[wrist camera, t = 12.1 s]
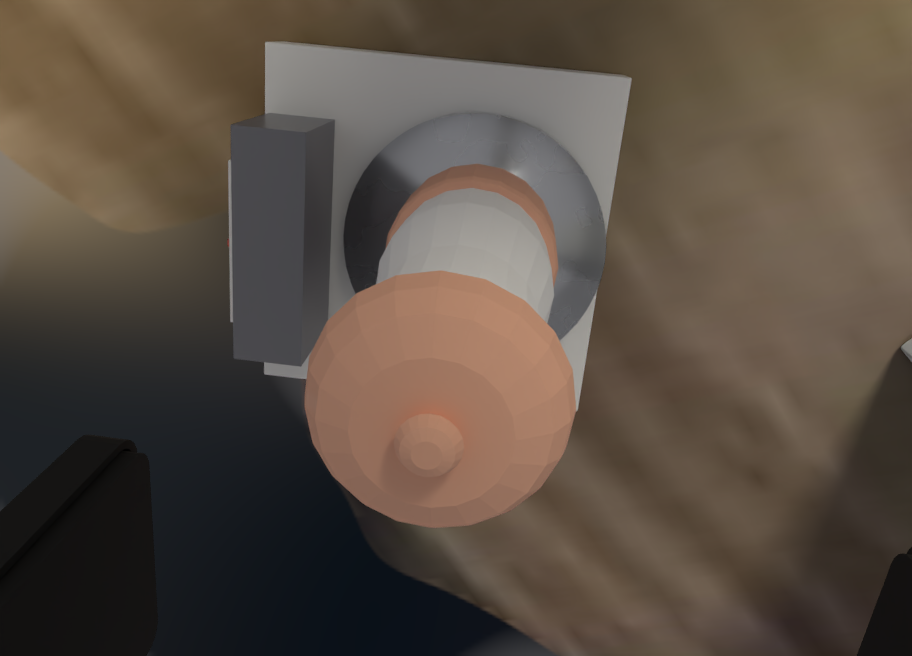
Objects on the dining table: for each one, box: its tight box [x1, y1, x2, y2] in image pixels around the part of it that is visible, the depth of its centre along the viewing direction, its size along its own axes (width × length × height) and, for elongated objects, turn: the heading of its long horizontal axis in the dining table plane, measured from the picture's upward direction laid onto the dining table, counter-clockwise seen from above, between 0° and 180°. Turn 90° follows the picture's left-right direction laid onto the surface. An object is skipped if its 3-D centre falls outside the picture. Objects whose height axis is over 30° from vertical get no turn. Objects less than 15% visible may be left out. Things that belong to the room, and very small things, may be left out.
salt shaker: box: [305, 164, 576, 528], centre depth 27 cm, size 7×7×19 cm
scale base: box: [227, 41, 632, 411], centre depth 36 cm, size 16×16×8 cm
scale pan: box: [343, 111, 606, 340], centre depth 36 cm, size 12×12×1 cm
